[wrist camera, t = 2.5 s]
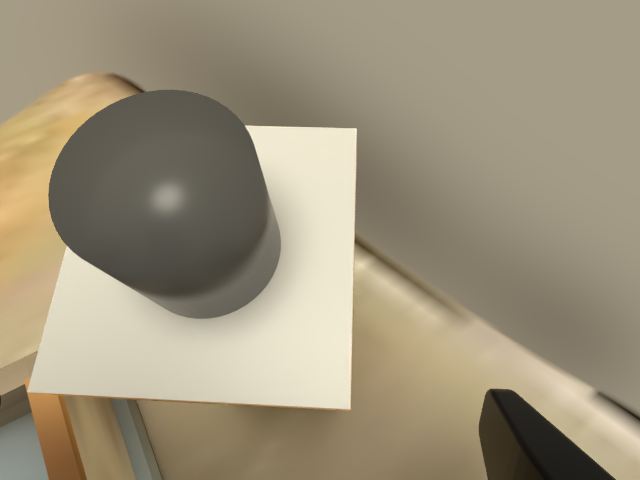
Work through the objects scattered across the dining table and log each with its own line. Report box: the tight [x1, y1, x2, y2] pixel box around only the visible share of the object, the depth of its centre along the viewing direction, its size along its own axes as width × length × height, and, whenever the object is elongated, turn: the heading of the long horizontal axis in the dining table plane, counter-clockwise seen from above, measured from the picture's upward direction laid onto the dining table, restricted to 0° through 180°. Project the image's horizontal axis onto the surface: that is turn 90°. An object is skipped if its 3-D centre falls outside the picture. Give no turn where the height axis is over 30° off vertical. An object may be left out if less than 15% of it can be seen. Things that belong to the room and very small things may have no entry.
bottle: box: [27, 90, 357, 411], centre depth 11 cm, size 4×4×14 cm
